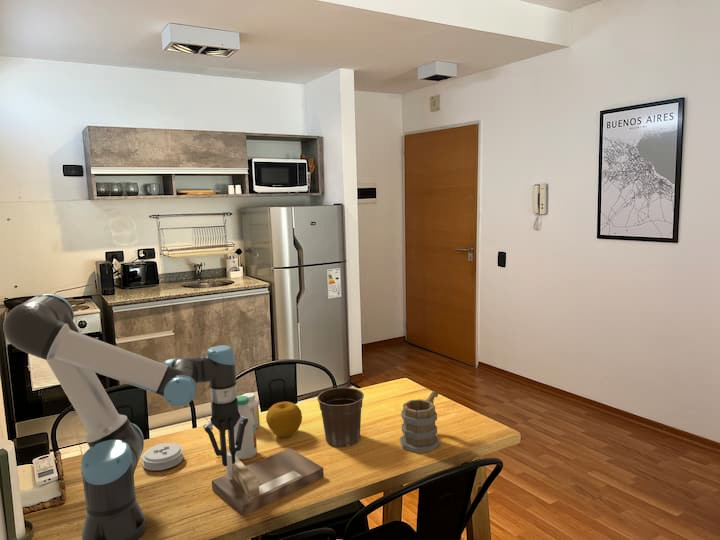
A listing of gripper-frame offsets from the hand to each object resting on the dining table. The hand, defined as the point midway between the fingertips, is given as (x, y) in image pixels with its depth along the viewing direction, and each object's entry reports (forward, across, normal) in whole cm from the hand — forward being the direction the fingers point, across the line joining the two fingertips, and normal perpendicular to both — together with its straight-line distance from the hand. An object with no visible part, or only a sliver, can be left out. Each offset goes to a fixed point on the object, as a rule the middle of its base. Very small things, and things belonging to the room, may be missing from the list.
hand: (229, 474), depth 158 cm
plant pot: (+5, +42, +11) cm, 44 cm away
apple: (+5, +26, +26) cm, 37 cm away
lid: (+5, -16, +27) cm, 32 cm away
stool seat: (+5, +11, -3) cm, 12 cm away
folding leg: (+1, +3, -4) cm, 5 cm away
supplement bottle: (+5, +17, +38) cm, 42 cm away
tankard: (+5, +67, -4) cm, 67 cm away
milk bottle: (+5, +9, +18) cm, 21 cm away
